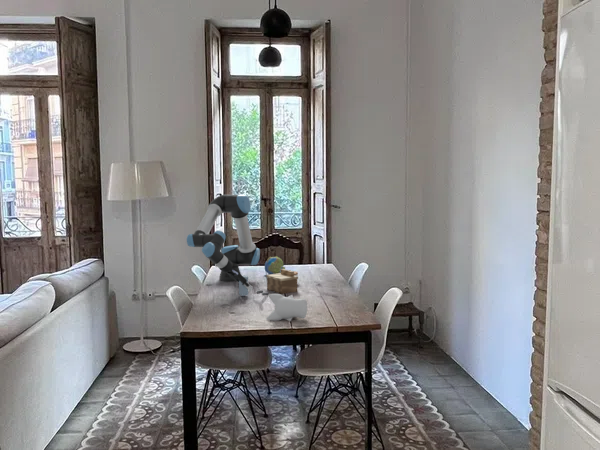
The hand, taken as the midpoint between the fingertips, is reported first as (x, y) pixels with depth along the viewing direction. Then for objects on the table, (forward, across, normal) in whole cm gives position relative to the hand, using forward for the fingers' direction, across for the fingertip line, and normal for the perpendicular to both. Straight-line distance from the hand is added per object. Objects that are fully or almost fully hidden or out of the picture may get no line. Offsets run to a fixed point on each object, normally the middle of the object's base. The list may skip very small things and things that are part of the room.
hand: (249, 288), depth 319 cm
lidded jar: (+30, -14, +24) cm, 41 cm away
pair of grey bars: (+9, 0, +4) cm, 10 cm away
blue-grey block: (0, 0, -5) cm, 5 cm away
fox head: (-4, +56, -10) cm, 57 cm away
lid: (+14, 0, +19) cm, 24 cm away
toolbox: (+19, 0, +14) cm, 24 cm away
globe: (+37, -47, +31) cm, 67 cm away
